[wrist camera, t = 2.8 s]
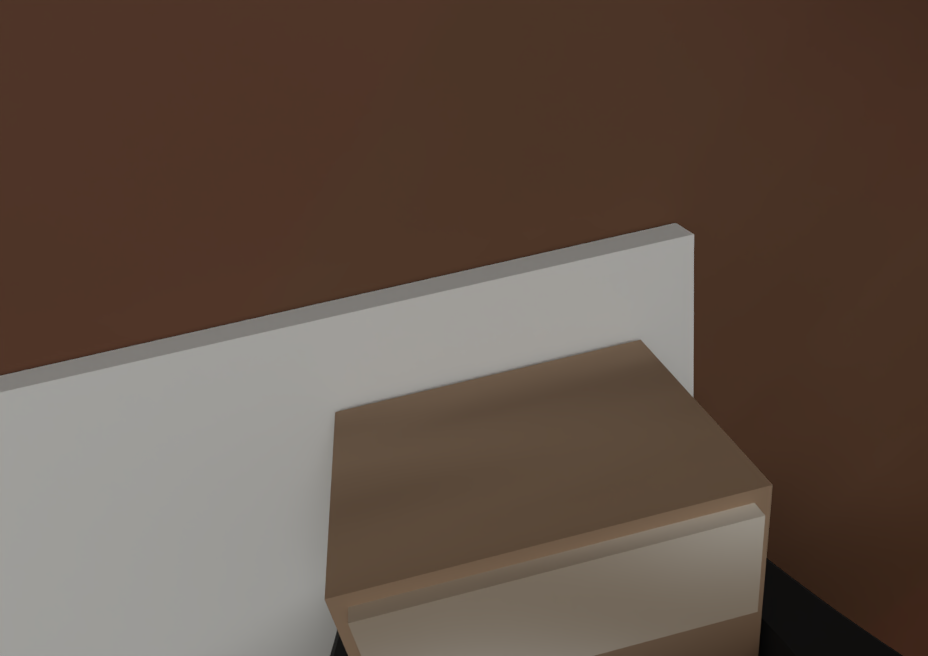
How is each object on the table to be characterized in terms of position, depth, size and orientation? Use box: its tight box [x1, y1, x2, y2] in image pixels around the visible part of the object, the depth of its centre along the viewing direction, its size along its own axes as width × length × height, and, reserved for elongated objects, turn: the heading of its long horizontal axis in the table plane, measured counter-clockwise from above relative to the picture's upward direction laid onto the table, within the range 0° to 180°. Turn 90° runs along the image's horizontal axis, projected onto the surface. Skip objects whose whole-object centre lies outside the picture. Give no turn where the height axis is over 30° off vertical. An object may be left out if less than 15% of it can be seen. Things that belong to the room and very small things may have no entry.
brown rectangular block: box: [324, 340, 773, 656], centre depth 10 cm, size 8×5×4 cm, turn 10°
